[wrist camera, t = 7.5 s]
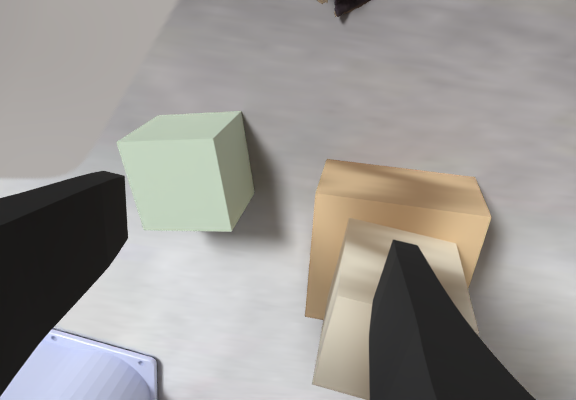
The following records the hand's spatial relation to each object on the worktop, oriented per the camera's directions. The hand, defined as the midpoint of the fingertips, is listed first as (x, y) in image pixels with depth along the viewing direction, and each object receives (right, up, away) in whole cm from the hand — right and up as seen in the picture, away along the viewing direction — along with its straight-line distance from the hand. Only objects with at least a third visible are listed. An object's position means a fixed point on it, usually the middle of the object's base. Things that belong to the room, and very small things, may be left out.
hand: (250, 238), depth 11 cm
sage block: (-3, +3, +11) cm, 12 cm away
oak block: (+6, 0, +11) cm, 13 cm away
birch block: (+5, -2, +8) cm, 10 cm away
